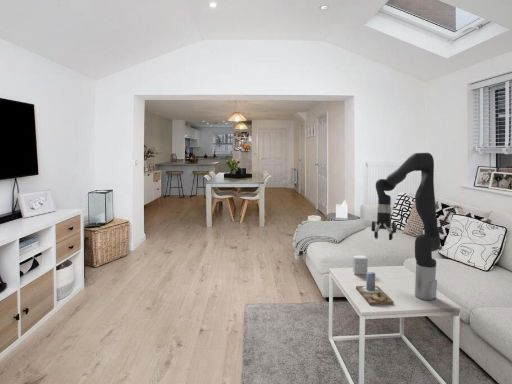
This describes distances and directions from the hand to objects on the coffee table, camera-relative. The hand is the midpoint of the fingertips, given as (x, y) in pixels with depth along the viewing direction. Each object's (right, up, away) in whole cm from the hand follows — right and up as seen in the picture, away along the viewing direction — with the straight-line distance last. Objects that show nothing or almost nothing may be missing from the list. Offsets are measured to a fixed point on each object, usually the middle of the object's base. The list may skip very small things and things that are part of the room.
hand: (383, 239), depth 197 cm
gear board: (-14, -27, -24) cm, 38 cm away
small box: (-11, -23, +11) cm, 28 cm away
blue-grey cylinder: (-14, -24, -19) cm, 34 cm away
